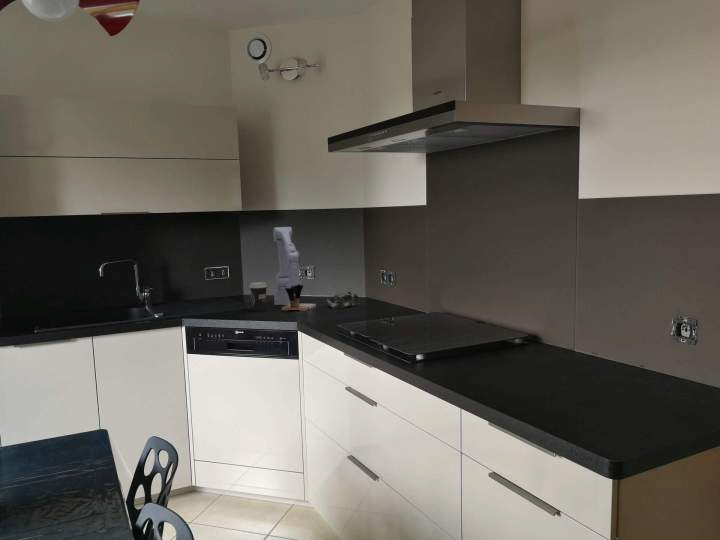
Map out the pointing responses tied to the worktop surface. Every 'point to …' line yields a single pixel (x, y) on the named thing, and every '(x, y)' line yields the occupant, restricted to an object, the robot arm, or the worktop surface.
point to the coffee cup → (258, 296)
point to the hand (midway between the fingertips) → (294, 299)
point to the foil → (343, 300)
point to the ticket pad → (307, 305)
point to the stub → (295, 306)
